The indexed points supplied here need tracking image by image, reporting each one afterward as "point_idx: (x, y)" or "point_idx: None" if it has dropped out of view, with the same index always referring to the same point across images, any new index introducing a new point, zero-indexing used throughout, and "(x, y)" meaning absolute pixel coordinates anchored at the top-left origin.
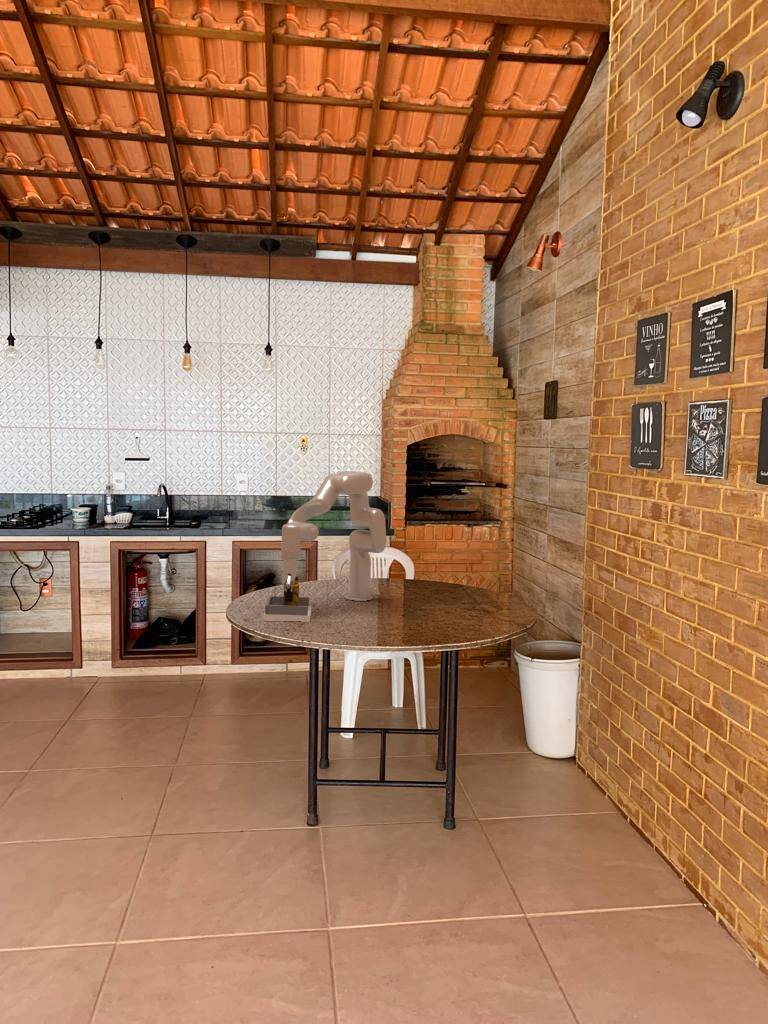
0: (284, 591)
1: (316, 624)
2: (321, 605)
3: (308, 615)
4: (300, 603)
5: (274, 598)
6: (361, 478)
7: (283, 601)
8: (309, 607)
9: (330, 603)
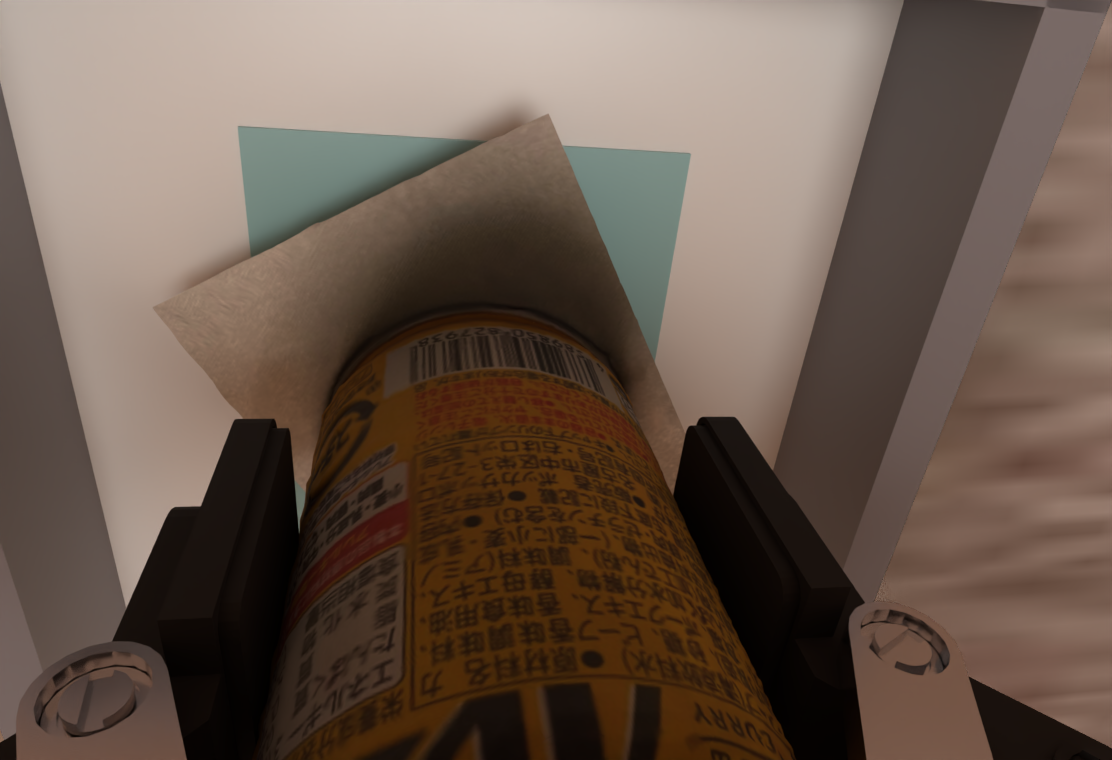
0: (412, 553)
1: None
2: (1004, 652)
3: None
4: None
5: (973, 98)
6: None
7: (871, 291)
8: None
9: (1063, 713)
